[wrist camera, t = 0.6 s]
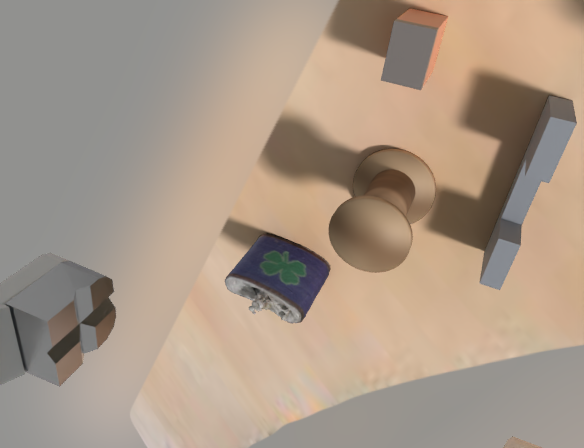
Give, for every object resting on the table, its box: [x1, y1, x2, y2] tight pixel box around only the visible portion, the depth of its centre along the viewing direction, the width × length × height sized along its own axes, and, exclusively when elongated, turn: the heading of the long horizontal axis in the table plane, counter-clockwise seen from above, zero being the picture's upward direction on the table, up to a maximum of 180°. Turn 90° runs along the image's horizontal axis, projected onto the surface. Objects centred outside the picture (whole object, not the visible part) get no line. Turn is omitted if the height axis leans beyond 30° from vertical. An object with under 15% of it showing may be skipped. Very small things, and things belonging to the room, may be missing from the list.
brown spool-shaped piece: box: [329, 149, 436, 273], centre depth 48 cm, size 8×8×10 cm
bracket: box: [480, 95, 577, 290], centre depth 44 cm, size 16×2×6 cm, turn 173°
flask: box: [225, 234, 330, 323], centre depth 56 cm, size 9×3×11 cm, turn 74°
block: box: [381, 8, 448, 90], centre depth 42 cm, size 4×3×6 cm
